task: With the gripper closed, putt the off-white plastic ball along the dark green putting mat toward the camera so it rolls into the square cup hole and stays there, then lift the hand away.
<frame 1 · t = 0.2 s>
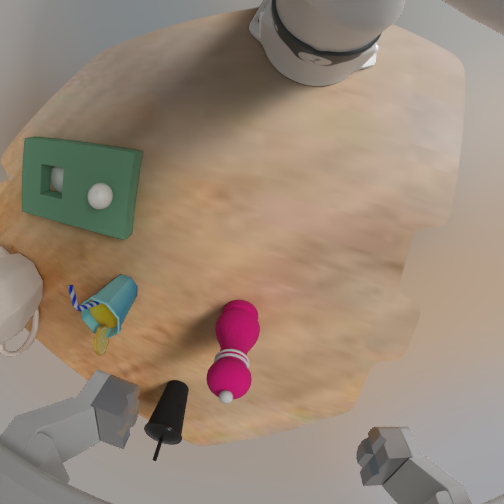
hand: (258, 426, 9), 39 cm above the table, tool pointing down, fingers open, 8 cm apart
drinking cup: (178, 386, 62), on the table
pepper mill: (240, 313, 53), on the table
ball: (100, 196, 41), point 5 cm above the table, touching putting mat
cup: (124, 282, 52), on the table
putting mat: (77, 181, 45), on the table
watering can: (24, 271, 54), on the table
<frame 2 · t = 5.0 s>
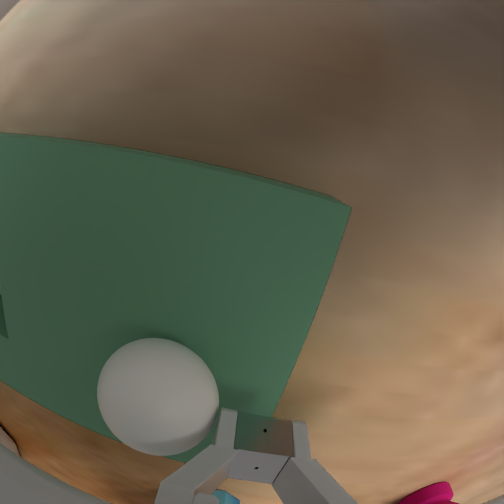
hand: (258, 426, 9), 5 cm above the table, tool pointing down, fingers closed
pepper mill: (421, 495, 19), on the table
ball: (157, 397, 9), point 5 cm above the table, tilted 9°, touching gripper, putting mat
cup: (205, 493, 19), on the table
putting mat: (52, 277, 13), on the table
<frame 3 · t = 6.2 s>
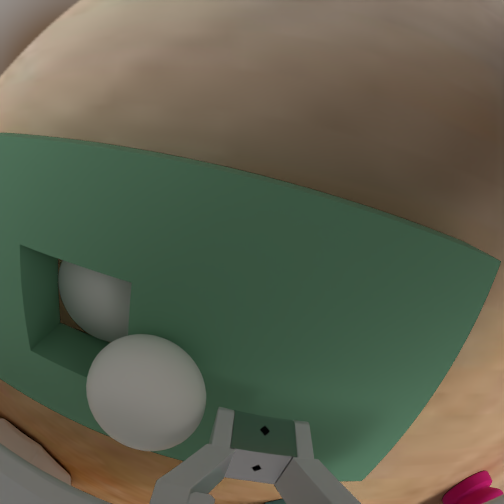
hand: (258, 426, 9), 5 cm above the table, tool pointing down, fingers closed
pepper mill: (464, 485, 20), on the table
ball: (145, 393, 9), point 5 cm above the table, tilted 137°, touching putting mat
cup: (288, 503, 19), on the table
putting mat: (177, 318, 13), on the table
watering can: (22, 442, 20), on the table
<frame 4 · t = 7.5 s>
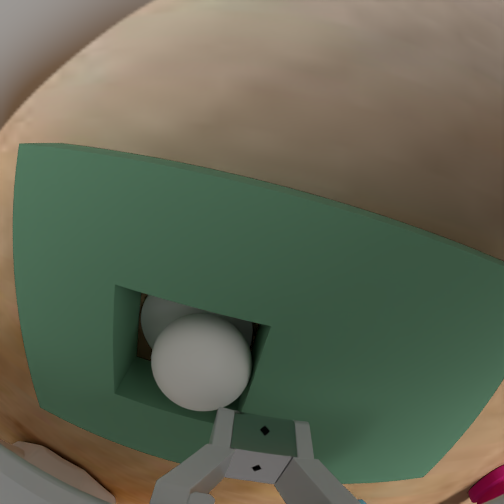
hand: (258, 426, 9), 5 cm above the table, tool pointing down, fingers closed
pepper mill: (488, 478, 20), on the table
ball: (201, 362, 11), point 2 cm above the table, tilted 8°, touching putting mat
putting mat: (280, 348, 14), on the table
watering can: (59, 465, 20), on the table
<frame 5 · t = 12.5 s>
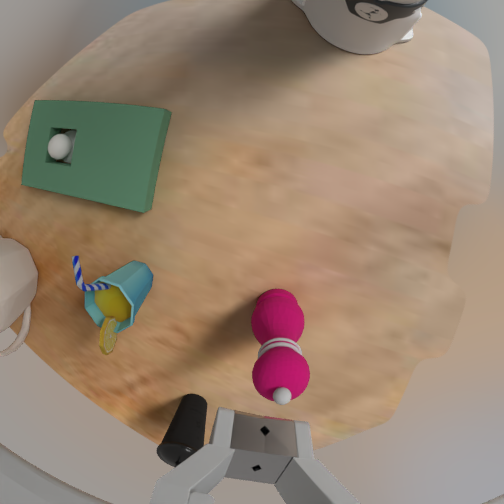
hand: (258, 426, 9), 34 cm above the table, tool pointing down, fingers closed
drinking cup: (195, 402, 52), on the table
pepper mill: (276, 306, 45), on the table
ball: (59, 146, 37), point 2 cm above the table, tilted 33°, touching putting mat
cup: (137, 270, 45), on the table
putting mat: (90, 149, 39), on the table
watering can: (17, 262, 46), on the table
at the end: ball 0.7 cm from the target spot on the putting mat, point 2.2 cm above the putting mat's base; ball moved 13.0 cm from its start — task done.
